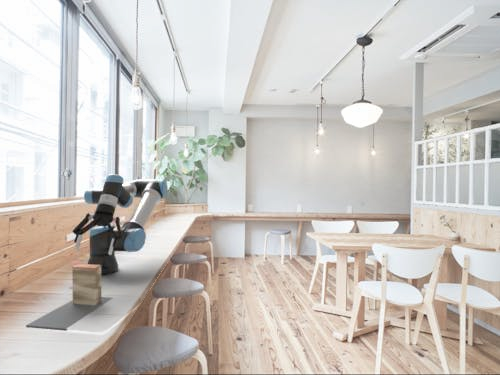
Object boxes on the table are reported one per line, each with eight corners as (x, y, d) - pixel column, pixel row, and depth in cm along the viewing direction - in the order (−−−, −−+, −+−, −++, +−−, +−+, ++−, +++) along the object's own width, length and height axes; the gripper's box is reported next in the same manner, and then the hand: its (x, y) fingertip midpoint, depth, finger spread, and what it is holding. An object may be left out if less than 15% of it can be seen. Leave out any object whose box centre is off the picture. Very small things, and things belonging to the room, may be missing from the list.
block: (79, 299, 122) (79, 263, 122) (101, 301, 121) (101, 264, 120) (72, 303, 118) (72, 266, 118) (94, 305, 117) (94, 267, 116)
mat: (81, 296, 126) (81, 295, 126) (113, 299, 124) (113, 297, 124) (26, 327, 101) (26, 325, 101) (65, 330, 99) (65, 328, 99)
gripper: (75, 199, 136) (58, 246, 127) (134, 206, 140) (122, 253, 130) (80, 206, 143) (64, 251, 133) (136, 212, 146) (125, 258, 136)
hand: (92, 252), depth 131 cm, fingers open, 13 cm apart
